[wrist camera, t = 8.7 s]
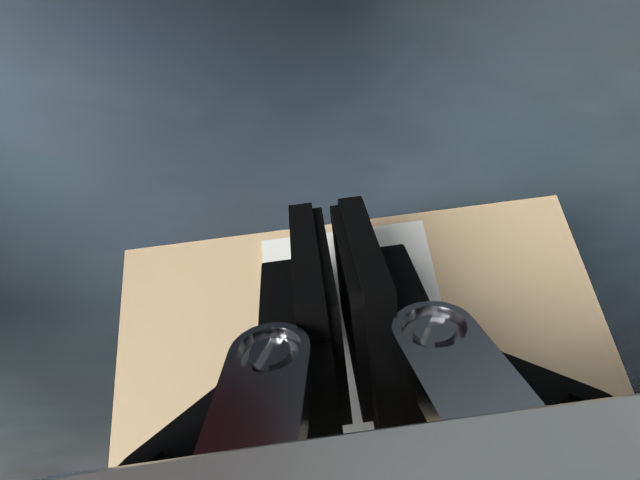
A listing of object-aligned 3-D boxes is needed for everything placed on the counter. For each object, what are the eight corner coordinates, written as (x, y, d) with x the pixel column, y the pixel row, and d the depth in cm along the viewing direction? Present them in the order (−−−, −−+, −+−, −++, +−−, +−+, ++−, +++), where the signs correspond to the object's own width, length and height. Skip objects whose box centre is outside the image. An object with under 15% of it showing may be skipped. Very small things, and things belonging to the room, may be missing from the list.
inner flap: (548, 206, 14) (557, 193, 14) (758, 757, 9) (789, 776, 8) (133, 259, 14) (123, 248, 14) (94, 840, 9) (74, 866, 8)
